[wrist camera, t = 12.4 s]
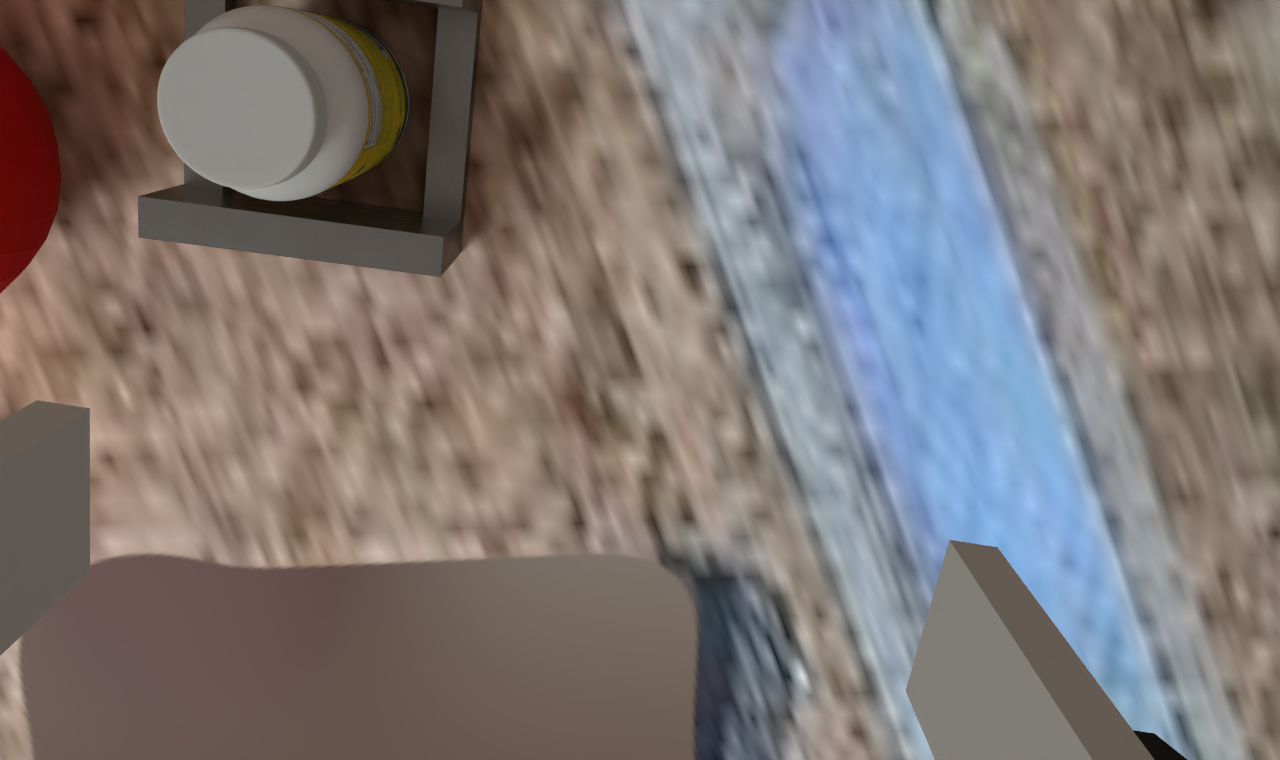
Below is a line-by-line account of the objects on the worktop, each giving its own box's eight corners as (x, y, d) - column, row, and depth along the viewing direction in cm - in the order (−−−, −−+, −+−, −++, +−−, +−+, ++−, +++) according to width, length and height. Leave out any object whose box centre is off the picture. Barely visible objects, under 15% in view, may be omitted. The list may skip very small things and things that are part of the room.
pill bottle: (264, 175, 41) (139, 212, 30) (251, 14, 39) (114, -6, 28) (416, 179, 41) (345, 218, 30) (411, 19, 39) (334, 1, 28)
